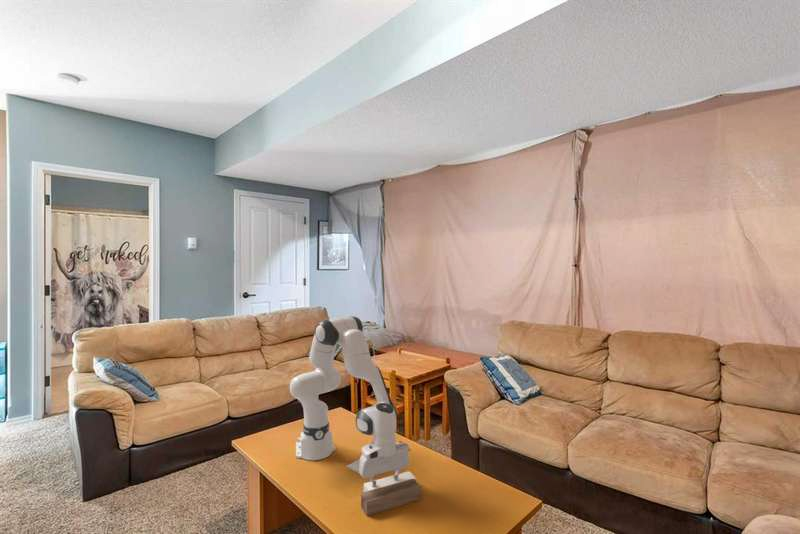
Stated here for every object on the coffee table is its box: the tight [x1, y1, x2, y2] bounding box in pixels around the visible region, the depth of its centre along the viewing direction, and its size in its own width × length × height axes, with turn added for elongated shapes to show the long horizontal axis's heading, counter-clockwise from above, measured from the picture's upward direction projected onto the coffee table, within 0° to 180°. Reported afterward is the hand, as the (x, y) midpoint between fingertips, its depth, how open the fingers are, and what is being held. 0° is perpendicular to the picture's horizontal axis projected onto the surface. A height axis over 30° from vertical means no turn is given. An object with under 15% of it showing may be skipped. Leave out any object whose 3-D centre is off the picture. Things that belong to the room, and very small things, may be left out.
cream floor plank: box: [363, 470, 417, 492], centre depth 152 cm, size 6×20×5 cm, turn 116°
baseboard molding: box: [345, 440, 402, 476], centre depth 180 cm, size 31×3×12 cm
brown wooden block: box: [360, 479, 422, 517], centre depth 146 cm, size 6×22×5 cm, turn 116°
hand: (384, 482), depth 151 cm, fingers open, 8 cm apart
